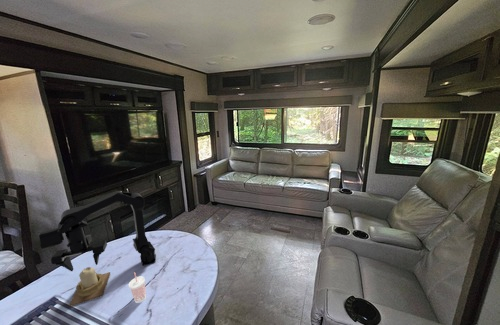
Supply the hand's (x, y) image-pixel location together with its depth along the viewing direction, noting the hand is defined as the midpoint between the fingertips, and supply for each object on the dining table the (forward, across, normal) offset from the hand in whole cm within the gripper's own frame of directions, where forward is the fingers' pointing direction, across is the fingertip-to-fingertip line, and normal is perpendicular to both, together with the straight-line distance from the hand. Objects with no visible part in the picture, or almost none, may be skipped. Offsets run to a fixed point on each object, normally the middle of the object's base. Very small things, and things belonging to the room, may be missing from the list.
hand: (85, 267), depth 91 cm
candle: (+12, 0, 0) cm, 12 cm away
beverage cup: (+12, -22, +15) cm, 29 cm away
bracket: (+12, 0, 0) cm, 12 cm away
